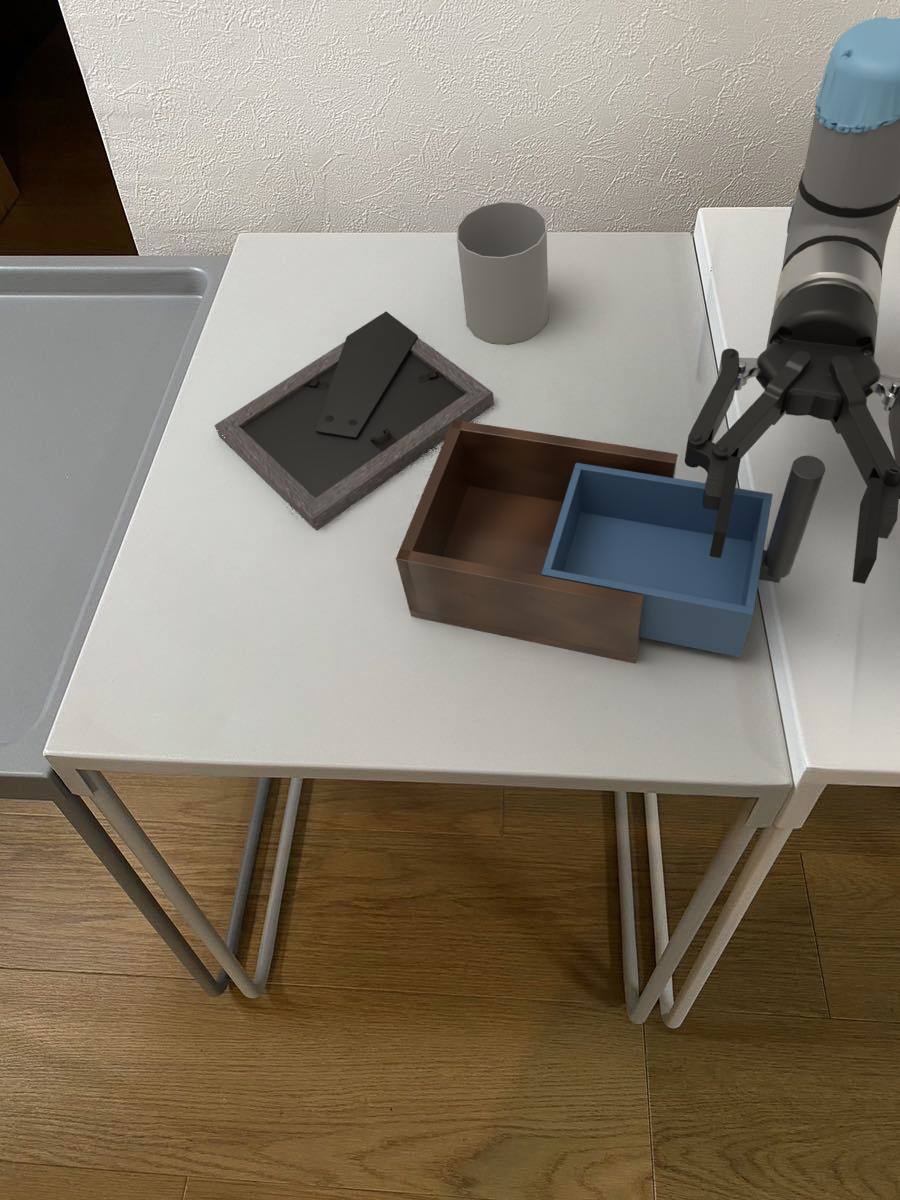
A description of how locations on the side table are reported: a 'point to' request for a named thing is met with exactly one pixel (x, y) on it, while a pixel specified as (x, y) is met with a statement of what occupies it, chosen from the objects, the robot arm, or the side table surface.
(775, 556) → the blue drawer insert
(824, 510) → the side table surface
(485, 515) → the walnut drawer box
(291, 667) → the side table surface
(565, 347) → the side table surface
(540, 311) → the cup
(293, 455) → the picture frame
